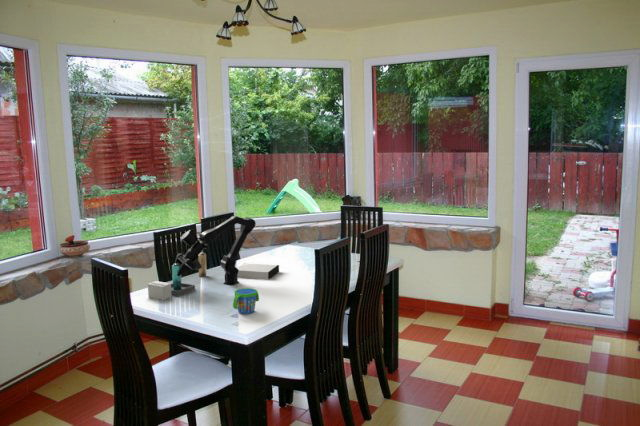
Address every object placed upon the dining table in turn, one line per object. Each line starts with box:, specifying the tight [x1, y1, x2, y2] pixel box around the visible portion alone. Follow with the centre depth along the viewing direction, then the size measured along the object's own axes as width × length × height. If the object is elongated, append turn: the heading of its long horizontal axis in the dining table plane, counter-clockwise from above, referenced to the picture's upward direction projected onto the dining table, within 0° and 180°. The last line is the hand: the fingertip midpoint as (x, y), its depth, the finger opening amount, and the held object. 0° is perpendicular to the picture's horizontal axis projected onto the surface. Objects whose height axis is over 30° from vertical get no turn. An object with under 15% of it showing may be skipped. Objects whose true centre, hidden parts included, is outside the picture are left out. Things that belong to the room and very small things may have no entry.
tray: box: [171, 282, 196, 297], centre depth 273 cm, size 13×13×3 cm
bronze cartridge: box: [198, 252, 207, 278], centre depth 303 cm, size 4×4×14 cm
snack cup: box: [232, 287, 260, 315], centre depth 240 cm, size 16×10×10 cm
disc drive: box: [236, 262, 280, 280], centre depth 307 cm, size 18×22×5 cm
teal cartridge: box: [171, 262, 182, 290], centre depth 272 cm, size 4×4×14 cm
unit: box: [147, 280, 173, 301], centre depth 263 cm, size 10×6×7 cm, turn 63°
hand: (175, 273), depth 271 cm, fingers open, 9 cm apart
